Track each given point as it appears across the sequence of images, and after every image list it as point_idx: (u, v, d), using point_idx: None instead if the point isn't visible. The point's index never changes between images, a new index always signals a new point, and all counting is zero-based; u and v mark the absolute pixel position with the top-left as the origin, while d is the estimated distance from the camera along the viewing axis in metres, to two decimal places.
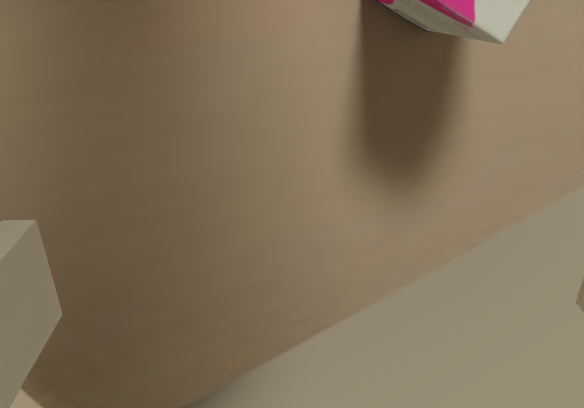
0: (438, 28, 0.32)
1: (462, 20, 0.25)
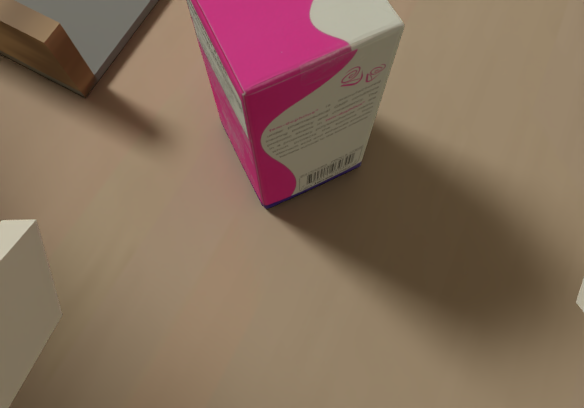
0: (355, 135, 0.22)
1: (337, 58, 0.16)
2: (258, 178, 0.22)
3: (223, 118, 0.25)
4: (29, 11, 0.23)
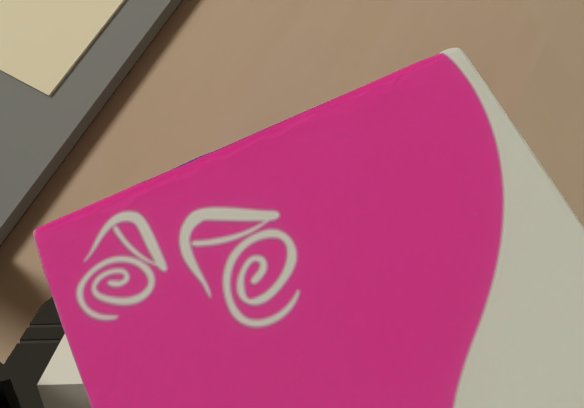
0: None
1: None
2: None
3: None
4: None
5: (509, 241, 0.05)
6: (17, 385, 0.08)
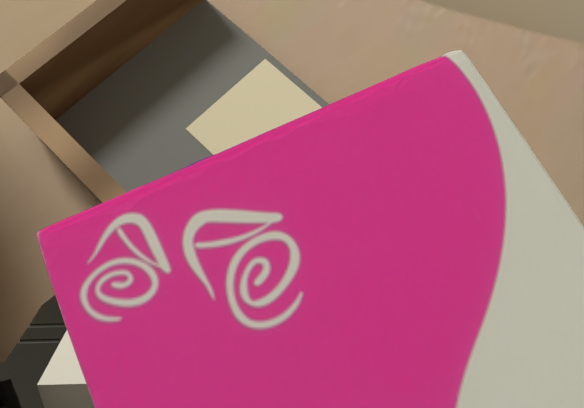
0: None
1: None
2: None
3: None
4: None
5: (511, 244, 0.05)
6: (17, 385, 0.08)
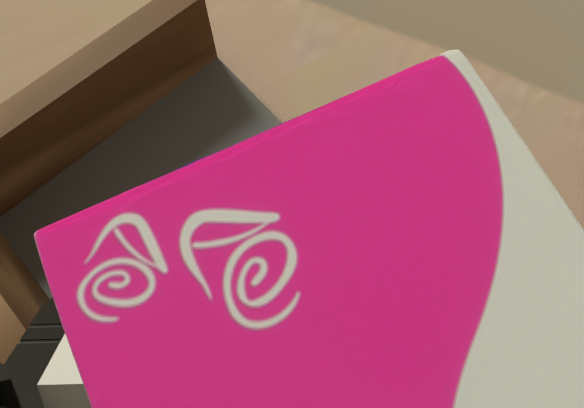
0: None
1: None
2: None
3: None
4: None
5: (509, 243, 0.05)
6: (17, 385, 0.08)
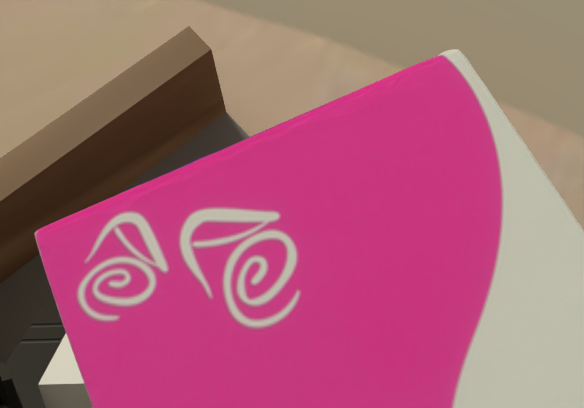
0: None
1: None
2: None
3: None
4: None
5: (508, 242, 0.05)
6: (18, 384, 0.08)
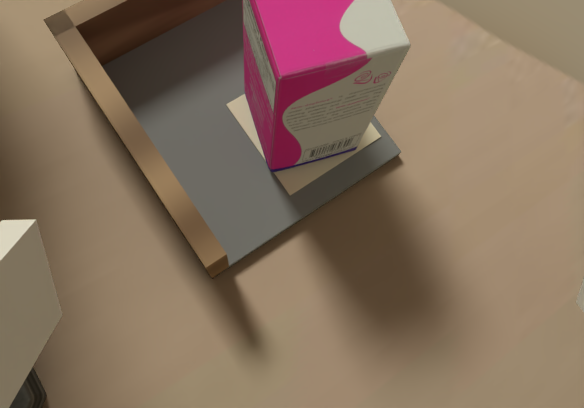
0: (357, 123, 0.27)
1: (355, 62, 0.20)
2: (272, 145, 0.27)
3: (249, 90, 0.29)
4: (206, 229, 0.25)
5: None
6: None
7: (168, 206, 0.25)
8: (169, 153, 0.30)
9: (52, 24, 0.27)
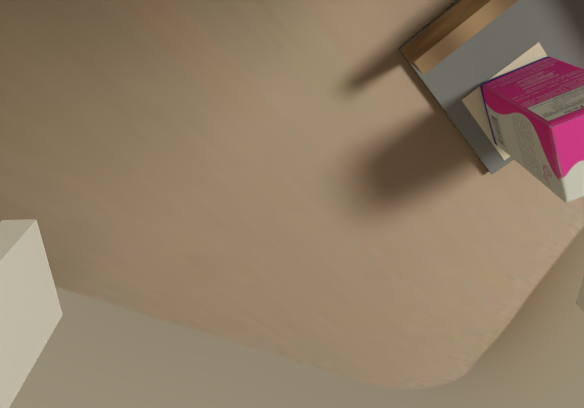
0: (515, 153, 0.39)
1: (557, 170, 0.32)
2: (502, 96, 0.37)
3: (548, 67, 0.38)
4: (441, 58, 0.35)
5: None
6: None
7: (458, 28, 0.34)
8: None
9: None
